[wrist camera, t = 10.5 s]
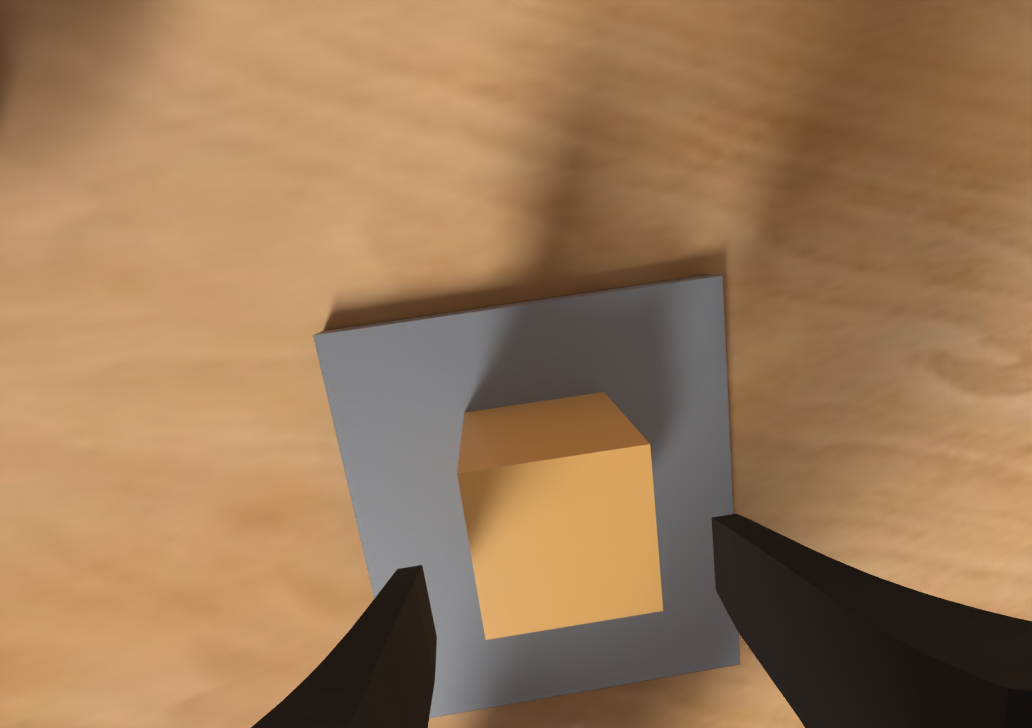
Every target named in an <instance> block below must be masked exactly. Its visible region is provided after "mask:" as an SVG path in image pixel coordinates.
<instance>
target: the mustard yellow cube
mask: <svg viewBox="0 0 1032 728" xmlns="http://www.w3.org/2000/svg"><path fill="white" fill-rule="evenodd" d="M457 477H458V483H459V489H460V494H461V500H462V506H463V512H464V517H465V523H466V529H467V535H468V541H469V546H470V552H471V558H472V564H473V570H474V575H475V581H476V587H477V593H478V599H479V604H480V610H481V616H482V622H483V628H484V633H485V639H486V640H489V639H495V638H501V637H507V636H513V635H519V634H525V633H531V632H538V631H544V630H550V629H556V628H562V627H568V626H574V625H580V624H586V623H592V622H599V621H605V620H611V619H617V618H623V617H629V616H635V615H641V614H647V613H653V612H659V611H663V602H662V589H661V576H660V563H659V550H658V538H657V525H656V512H655V499H654V486H653V473H652V461H651V448H650V443H649V442H648V441H647V440H646V439H645V438H644V437H643V435H642V434H641V433H640V432H639V431H638V430H637V429H636V428H635V426H634V425H633V424H632V423H631V422H630V421H629V420H628V419H627V417H626V416H625V415H624V414H623V413H622V412H621V411H620V410H619V408H618V407H617V406H616V405H615V404H614V403H613V402H612V401H611V399H610V398H609V397H608V396H607V395H606V394H605V393H604V392H600V393H593V394H587V395H580V396H573V397H566V398H559V399H553V400H546V401H539V402H532V403H526V404H519V405H512V406H505V407H499V408H492V409H485V410H478V411H471V412H465V413H464V418H463V426H462V435H461V443H460V452H459V460H458V468H457Z"/></svg>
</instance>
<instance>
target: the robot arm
mask: <svg viewBox="0 0 1032 728" xmlns="http://www.w3.org/2000/svg"><path fill="white" fill-rule="evenodd" d="M711 519H712V536H713V553H714V570H715V588H716V591H717V593H718V595H719V597H720V599H721V601H722V603H723V605H724V607H725V609H726V611H727V613H728V614H729V616H730V618H731V620H732V622H733V623H734V625H735V627H736V629H737V630H738V632H739V633H740V635H741V636H742V638H743V639H744V641H745V642H746V643H747V645H748V646H749V648H750V649H751V651H752V652H753V653H754V655H755V656H756V658H757V659H758V661H759V662H760V663H761V665H762V666H763V668H764V669H765V671H766V672H767V673H768V675H769V676H770V678H771V679H772V680H773V682H774V683H775V685H776V686H777V688H778V689H779V690H780V692H781V693H782V695H783V696H784V697H785V699H786V700H787V702H788V703H789V705H790V706H791V707H792V709H793V710H794V712H795V713H796V714H797V716H798V717H799V719H800V720H801V722H802V723H803V725H804V726H805V728H1032V621H1027V620H1023V619H1018V618H1013V617H1009V616H1005V615H1001V614H997V613H993V612H989V611H985V610H981V609H977V608H973V607H970V606H966V605H963V604H959V603H955V602H952V601H948V600H945V599H941V598H938V597H935V596H931V595H928V594H925V593H922V592H919V591H916V590H913V589H910V588H907V587H904V586H901V585H898V584H895V583H893V582H890V581H887V580H884V579H881V578H879V577H876V576H873V575H871V574H868V573H865V572H863V571H861V570H858V569H856V568H853V567H851V566H849V565H846V564H844V563H841V562H839V561H837V560H834V559H832V558H830V557H827V556H825V555H823V554H821V553H819V552H816V551H814V550H812V549H810V548H808V547H806V546H803V545H801V544H799V543H797V542H795V541H793V540H791V539H789V538H787V537H785V536H783V535H781V534H779V533H776V532H774V531H772V530H770V529H768V528H766V527H764V526H762V525H760V524H758V523H756V522H754V521H751V520H749V519H747V518H745V517H743V516H740V515H738V514H730V515H724V516H718V517H712V518H711ZM436 647H437V635H436V630H435V625H434V620H433V615H432V610H431V605H430V600H429V595H428V591H427V586H426V581H425V576H424V571H423V566H422V565H418V566H412V567H406V568H400V569H397V570H396V571H395V573H394V574H393V575H392V576H391V578H390V579H389V580H388V582H387V583H386V584H385V586H384V587H383V588H382V590H381V591H380V592H379V593H378V595H377V596H376V597H375V599H374V600H373V601H372V603H371V604H370V605H369V607H368V608H367V609H366V611H365V612H364V613H363V614H362V616H361V617H360V618H359V619H358V621H357V622H356V623H355V624H354V626H353V627H352V628H351V629H350V631H349V632H348V633H347V634H346V635H345V636H344V637H343V639H342V640H341V641H340V642H339V643H338V644H337V646H336V647H335V648H334V649H333V650H332V651H331V652H330V654H329V655H328V656H327V657H326V658H325V659H324V660H323V661H322V662H321V663H320V665H319V666H318V667H317V668H316V669H315V670H314V671H313V672H312V673H311V674H310V675H309V676H308V677H307V678H306V679H305V680H304V681H303V682H302V683H301V684H300V685H299V686H298V687H297V688H296V689H294V690H293V691H292V692H291V693H290V694H289V695H288V696H287V697H286V698H285V699H284V700H283V701H282V702H281V703H279V704H278V705H277V706H276V707H275V708H274V709H272V710H271V711H270V712H269V713H268V714H267V715H265V716H264V717H263V718H262V719H261V720H259V721H258V722H257V723H256V724H255V725H254V726H252V727H251V728H428V722H429V715H430V709H431V703H432V696H433V690H434V683H435V670H436Z"/></svg>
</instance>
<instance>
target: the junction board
mask: <svg viewBox="0 0 1032 728" xmlns="http://www.w3.org/2000/svg"><path fill="white" fill-rule="evenodd" d="M313 337H314V341H315V345H316V350H317V354H318V358H319V362H320V367H321V371H322V375H323V380H324V384H325V388H326V393H327V397H328V401H329V405H330V410H331V414H332V418H333V423H334V427H335V431H336V436H337V440H338V444H339V449H340V453H341V457H342V461H343V466H344V470H345V474H346V479H347V483H348V487H349V492H350V496H351V500H352V504H353V509H354V513H355V517H356V522H357V526H358V530H359V535H360V539H361V543H362V548H363V552H364V556H365V560H366V565H367V569H368V573H369V578H370V582H371V586H372V591H373V595H374V599H375V597H376V596H377V595H378V593H379V592H380V591H381V590H382V588H383V587H384V586H385V584H386V583H387V582H388V580H389V579H390V578H391V576H392V575H393V574H394V573H395V571H396V570H397V569H400V568H406V567H412V566H418V565H422V566H423V571H424V576H425V581H426V586H427V591H428V595H429V600H430V605H431V610H432V615H433V620H434V625H435V630H436V635H437V647H436V670H435V683H434V690H433V696H432V703H431V709H430V715H429V718H433V717H439V716H445V715H451V714H456V713H462V712H468V711H474V710H479V709H485V708H491V707H497V706H503V705H508V704H514V703H520V702H526V701H531V700H537V699H543V698H549V697H554V696H560V695H566V694H572V693H578V692H583V691H589V690H595V689H601V688H606V687H612V686H618V685H624V684H629V683H635V682H641V681H647V680H652V679H658V678H664V677H670V676H676V675H681V674H687V673H693V672H699V671H704V670H710V669H716V668H722V667H727V666H733V665H739V664H740V649H739V632H738V630H737V629H736V627H735V625H734V623H733V622H732V620H731V618H730V616H729V614H728V613H727V611H726V609H725V607H724V605H723V603H722V601H721V599H720V597H719V595H718V593H717V591H716V588H715V570H714V553H713V536H712V519H711V518H712V517H718V516H724V515H730V514H733V494H732V472H731V450H730V428H729V406H728V384H727V362H726V340H725V318H724V296H723V276H720V275H704V276H697V277H690V278H683V279H676V280H669V281H662V282H656V283H649V284H642V285H635V286H628V287H621V288H614V289H608V290H601V291H594V292H587V293H580V294H573V295H566V296H560V297H553V298H546V299H539V300H532V301H525V302H518V303H512V304H505V305H498V306H491V307H484V308H477V309H470V310H464V311H457V312H450V313H443V314H436V315H429V316H422V317H415V318H409V319H402V320H395V321H388V322H381V323H374V324H367V325H361V326H354V327H347V328H340V329H333V330H326V331H322V332H320V333H317V334H315V335H313ZM600 392H604V393H605V394H606V395H607V396H608V397H609V398H610V399H611V401H612V402H613V403H614V404H615V405H616V406H617V407H618V408H619V410H620V411H621V412H622V413H623V414H624V415H625V416H626V417H627V419H628V420H629V421H630V422H631V423H632V424H633V425H634V426H635V428H636V429H637V430H638V431H639V432H640V433H641V434H642V435H643V437H644V438H645V439H646V440H647V441H648V442H649V443H650V448H651V461H652V473H653V486H654V499H655V512H656V525H657V538H658V550H659V563H660V576H661V589H662V602H663V611H659V612H653V613H647V614H641V615H635V616H629V617H623V618H617V619H611V620H605V621H599V622H592V623H586V624H580V625H574V626H568V627H562V628H556V629H550V630H544V631H538V632H531V633H525V634H519V635H513V636H507V637H501V638H495V639H489V640H486V639H485V633H484V628H483V622H482V616H481V610H480V604H479V599H478V593H477V587H476V581H475V575H474V570H473V564H472V558H471V552H470V546H469V541H468V535H467V529H466V523H465V517H464V512H463V506H462V500H461V494H460V489H459V483H458V477H457V468H458V460H459V452H460V443H461V435H462V426H463V418H464V413H465V412H471V411H478V410H485V409H492V408H499V407H505V406H512V405H519V404H526V403H532V402H539V401H546V400H553V399H559V398H566V397H573V396H580V395H587V394H593V393H600Z"/></svg>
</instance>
